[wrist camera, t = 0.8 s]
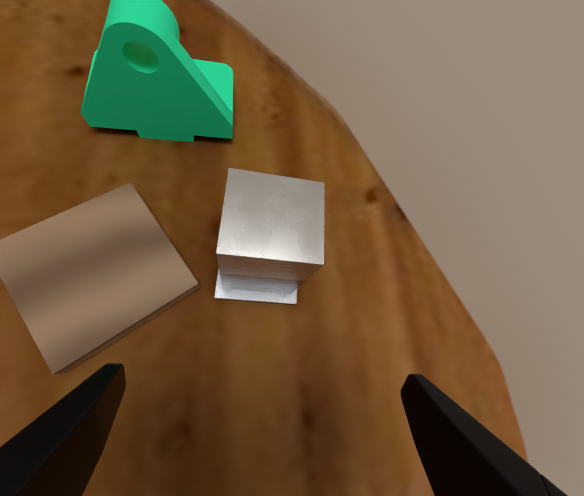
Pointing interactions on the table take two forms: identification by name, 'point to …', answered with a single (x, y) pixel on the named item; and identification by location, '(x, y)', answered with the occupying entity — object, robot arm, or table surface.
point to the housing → (269, 237)
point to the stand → (92, 276)
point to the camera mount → (155, 79)
